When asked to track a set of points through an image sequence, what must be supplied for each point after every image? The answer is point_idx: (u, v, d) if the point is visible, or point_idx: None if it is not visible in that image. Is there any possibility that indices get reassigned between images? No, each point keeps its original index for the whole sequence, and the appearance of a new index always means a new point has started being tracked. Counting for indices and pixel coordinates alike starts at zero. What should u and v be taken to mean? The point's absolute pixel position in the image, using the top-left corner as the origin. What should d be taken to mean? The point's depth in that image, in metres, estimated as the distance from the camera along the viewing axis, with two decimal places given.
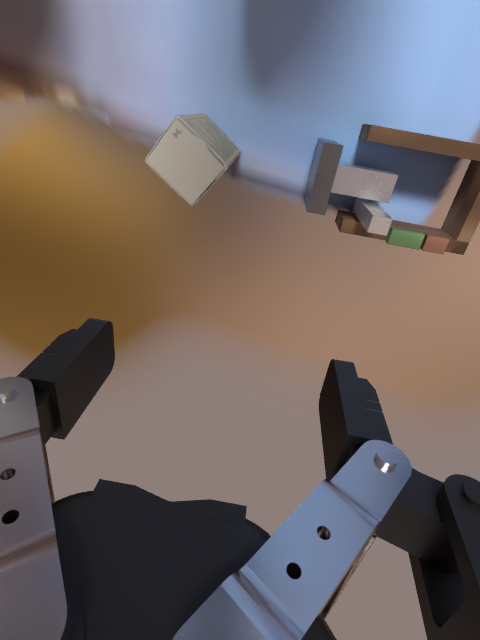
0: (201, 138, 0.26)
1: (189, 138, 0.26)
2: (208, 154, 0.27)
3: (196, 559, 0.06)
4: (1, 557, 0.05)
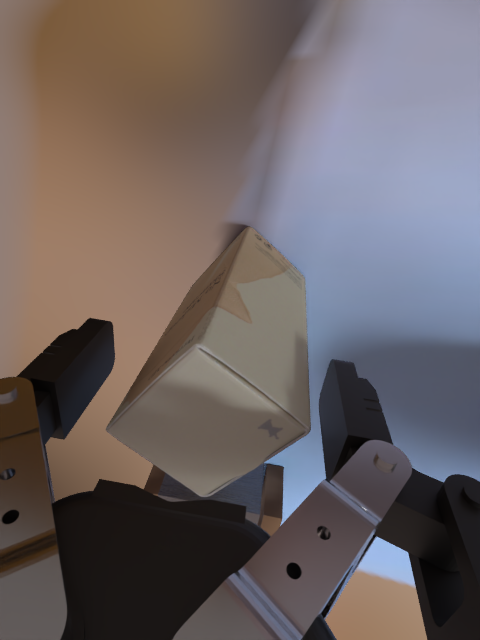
0: (259, 464, 0.11)
1: (259, 450, 0.11)
2: (226, 477, 0.11)
3: (196, 559, 0.06)
4: (1, 557, 0.05)
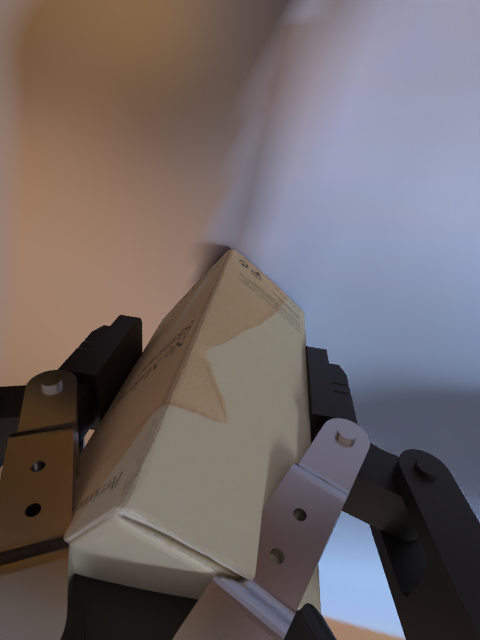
0: None
1: None
2: None
3: None
4: (17, 550, 0.06)
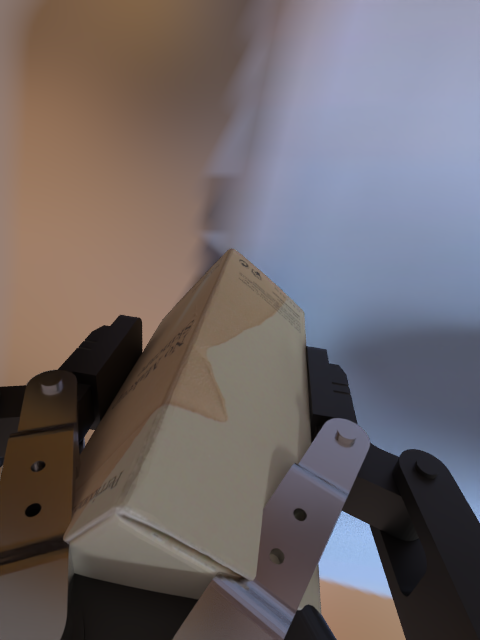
0: None
1: None
2: None
3: None
4: (17, 550, 0.06)
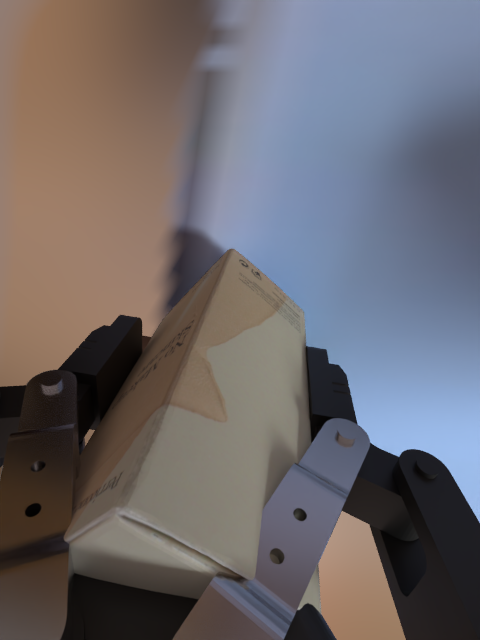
0: None
1: None
2: None
3: None
4: (17, 550, 0.06)
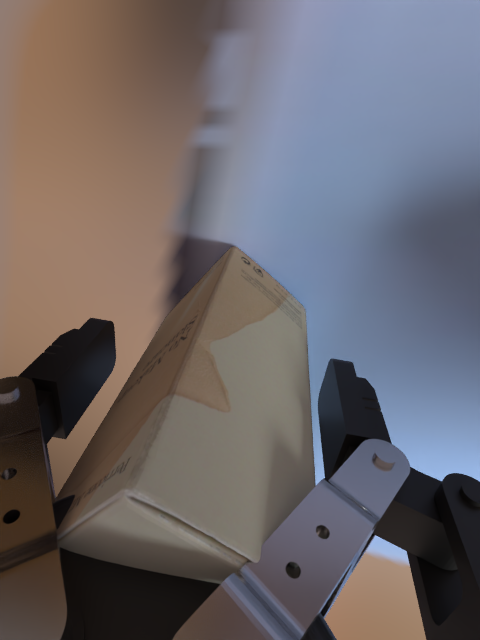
0: None
1: None
2: None
3: None
4: (2, 556, 0.05)
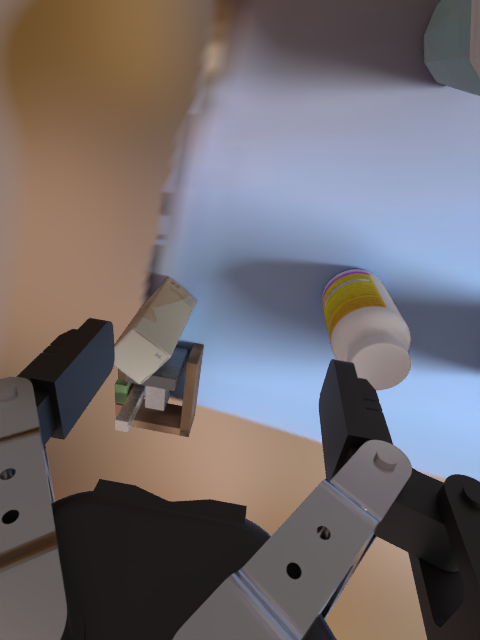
0: (157, 369, 0.34)
1: (155, 363, 0.33)
2: (146, 374, 0.34)
3: (196, 559, 0.06)
4: (1, 557, 0.05)
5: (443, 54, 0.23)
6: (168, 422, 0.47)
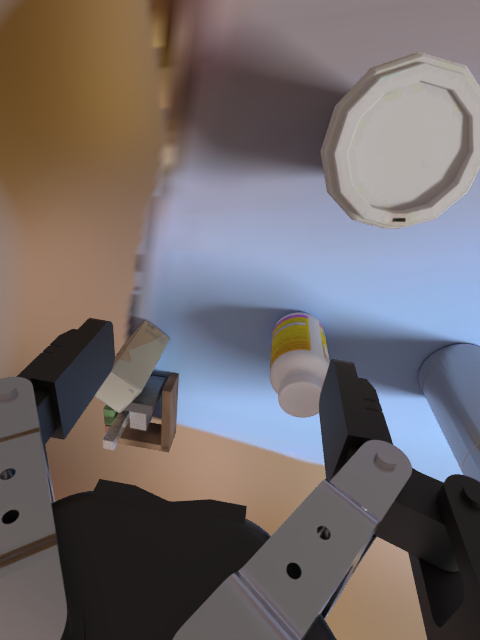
0: (131, 401, 0.41)
1: (130, 396, 0.41)
2: (123, 405, 0.42)
3: (196, 559, 0.06)
4: (1, 557, 0.05)
5: None
6: (151, 439, 0.55)
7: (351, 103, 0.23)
